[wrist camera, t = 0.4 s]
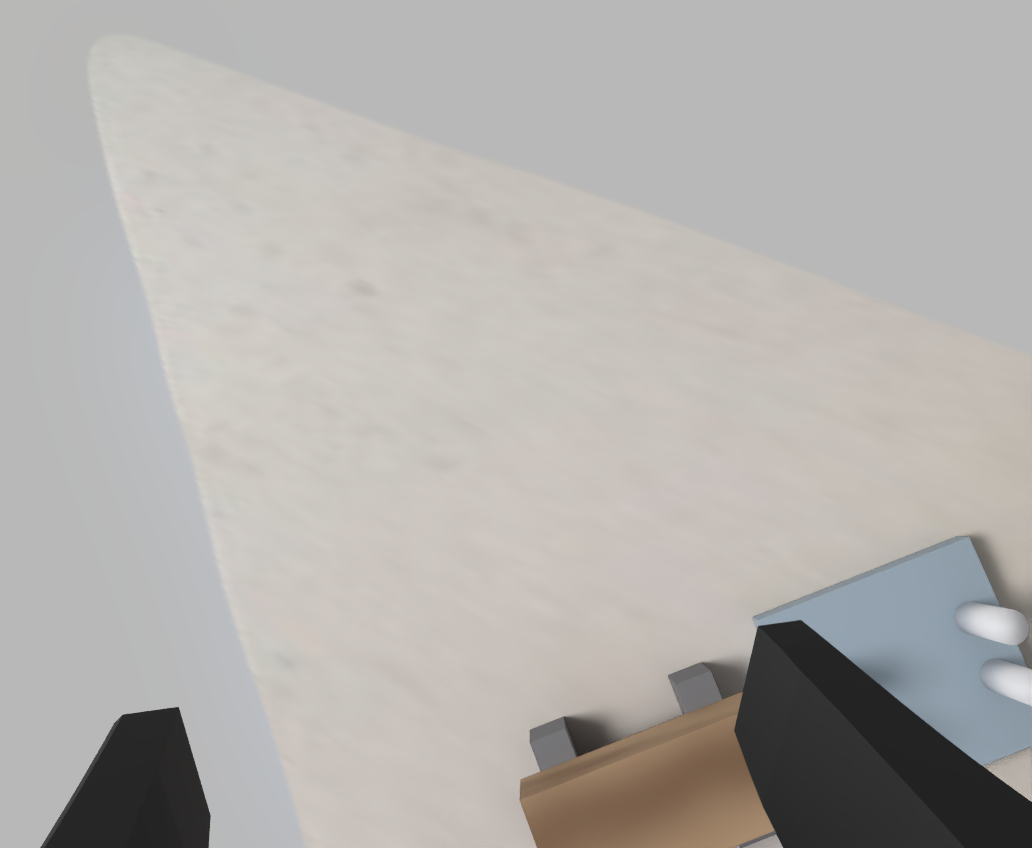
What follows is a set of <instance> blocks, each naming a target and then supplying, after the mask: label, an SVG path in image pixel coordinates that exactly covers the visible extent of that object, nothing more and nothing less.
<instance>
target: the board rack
mask: <svg viewBox="0 0 1032 848" xmlns="http://www.w3.org/2000/svg"><path fill="white" fill-rule="evenodd" d="M668 677H669V680H670V682H671V685H672V687H673V690H674V692H675V695H676V697H677V700H678V702H679V705H680V707H681V710H682V713H683V715H684V714H687V713H689V712H692V711H694V710H697V709H699V708H702V707H704V706H707V705H710V704H712V703H715V702H717V701H720V700H722V697H721V695H720V692H719V690H718V687H717V685H716V682H715V680H714V677H713V675H712V672H711V670H709V669H708V668H707V667H706V666H705V665H704V664H702V663H698V664H696V665H693V666H690V667H688V668H685V669H683V670H680V671H678V672H675V673H673V674H670V675H668ZM530 744H531V747H532V750H533V752H534V755H535V758H536V760H537V763H538V766H539V768H540V771H543V770H546V769H548V768H551V767H554V766H556V765H559V764H561V763H564V762H566V761H569V760H571V759H574V758H576V757H579V756H578V754H577V751H576V749H575V746H574V743H573V741H572V738H571V735H570V733H569V730H568V727H567V725H566V722H565V720H564V717H562V718H559V719H557V720H554V721H552V722H549V723H547V724H544V725H542V726H539V727H536V728H534V729H531V730H530ZM775 834H776V832H775V831H773V832H770V833H768V834H765V835H763V836H760V837H758V838H755V839H753V840H750V841H748V842H745V843H743V844H740V845H739V846H740V848H743V847H745V846H748V845H750V844H753V843H755V842H757V841H760V840H762V839H765V838H767V837H770V836H772V835H775Z"/></svg>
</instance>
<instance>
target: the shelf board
mask: <svg viewBox="0 0 1032 848" xmlns="http://www.w3.org/2000/svg"><path fill="white" fill-rule="evenodd" d="M742 693H743V692H740V693H737V694H735V695H732V696H730V697H727V698H725V699H722V700H720V701H717V702H715V703H712V704H710V705H707V706H704V707H702V708H699V709H697V710H694V711H692V712H689V713H687V714H684V715H682V716H679V717H677V718H674V719H672V720H669V721H667V722H664V723H662V724H659V725H657V726H654V727H652V728H649V729H647V730H644V731H642V732H639V733H637V734H634V735H631V736H629V737H626V738H624V739H621V740H619V741H616V742H614V743H611V744H609V745H606V746H604V747H601V748H599V749H596V750H594V751H591V752H589V753H586V754H584V755H581V756H579V757H576V758H574V759H571V760H569V761H566V762H564V763H561V764H559V765H556V766H554V767H551V768H548V769H546V770H543V771H541V772H538V773H536V774H533V775H531V776H528V777H526V778H523V779H521V782H520V802H521V805H522V808H523V811H524V813H525V816H526V819H527V821H528V824H529V827H530V830H531V832H532V835H533V838H534V840H535V843H536V846H537V848H733V847H735V846H738V845H740V844H743V843H745V842H748V841H750V840H753V839H755V838H758V837H760V836H763V835H765V834H768V833H770V832H773V831H775V830H774V828H773V826H772V824H771V822H770V820H769V818H768V816H767V814H766V812H765V810H764V808H763V806H762V803H761V801H760V798H759V796H758V793H757V791H756V788H755V786H754V783H753V780H752V778H751V775H750V773H749V770H748V767H747V765H746V762H745V759H744V756H743V754H742V751H741V748H740V745H739V743H738V740H737V737H736V734H735V732H734V728H735V724H736V720H737V715H738V711H739V707H740V702H741V698H742Z"/></svg>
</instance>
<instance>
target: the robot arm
mask: <svg viewBox="0 0 1032 848" xmlns="http://www.w3.org/2000/svg"><path fill="white" fill-rule="evenodd" d="M734 732H735V734H736V737H737V740H738V743H739V745H740V748H741V751H742V754H743V756H744V759H745V762H746V765H747V767H748V770H749V773H750V775H751V778H752V780H753V783H754V786H755V788H756V791H757V793H758V796H759V798H760V801H761V803H762V806H763V808H764V810H765V812H766V814H767V816H768V818H769V820H770V822H771V824H772V826H773V828H774V830H775V832H776V834H777V836H778V838H779V840H780V842H781V844H782V846H783V848H1032V802H1031V801H1029V800H1028V799H1027V798H1025V797H1024V796H1022V795H1021V794H1020V793H1018V792H1017V791H1015V790H1014V789H1013V788H1011V787H1010V786H1009V785H1007V784H1006V783H1004V782H1003V781H1002V780H1000V779H999V778H998V777H996V776H995V775H994V774H992V773H991V772H990V771H988V770H987V769H986V768H984V767H983V766H982V765H980V764H979V763H978V762H976V761H975V760H974V759H972V758H971V757H970V756H968V755H967V754H966V753H965V752H963V751H962V750H961V749H959V748H958V747H957V746H956V745H954V744H953V743H952V742H950V741H949V740H948V739H947V738H945V737H944V736H943V735H942V734H940V733H939V732H938V731H936V730H935V729H934V728H933V727H931V726H930V725H929V724H928V723H926V722H925V721H924V720H923V719H921V718H920V717H919V716H918V715H916V714H915V713H914V712H913V711H911V710H910V709H909V708H908V707H907V706H905V705H904V704H903V703H902V702H900V701H899V700H898V699H897V698H895V697H894V696H893V695H892V694H891V693H889V692H888V691H887V690H886V689H885V688H883V687H882V686H881V685H880V684H878V683H877V682H876V681H875V680H874V679H872V678H871V677H870V676H869V675H868V674H866V673H865V672H864V671H863V670H862V669H860V668H859V667H858V666H857V665H855V664H854V663H853V662H852V661H851V660H849V659H848V658H847V657H846V656H845V655H843V654H842V653H841V652H840V651H839V650H837V649H836V648H835V647H834V646H833V645H831V644H830V643H829V642H828V641H827V640H825V639H824V638H823V637H822V636H820V635H819V634H818V633H817V632H816V631H814V630H813V629H812V628H811V627H809V626H808V625H807V624H806V623H804V622H803V621H802V620H796V621H789V622H782V623H775V624H768V625H761V626H758V628H757V632H756V637H755V641H754V646H753V650H752V654H751V659H750V663H749V667H748V672H747V676H746V680H745V685H744V689H743V693H742V698H741V702H740V707H739V711H738V715H737V720H736V724H735V728H734ZM209 831H210V812H209V809H208V806H207V802H206V799H205V796H204V792H203V789H202V785H201V782H200V779H199V775H198V772H197V768H196V765H195V761H194V758H193V754H192V751H191V748H190V744H189V741H188V737H187V734H186V731H185V727H184V724H183V720H182V717H181V714H180V710H179V707H176V708H168V709H160V710H153V711H146V712H140V713H132V714H125V715H122V716H121V717H120V718H119V719H118V720H117V721H116V722H115V723H114V725H113V727H112V729H111V730H110V732H109V734H108V736H107V737H106V739H105V741H104V743H103V744H102V746H101V748H100V750H99V751H98V753H97V755H96V757H95V758H94V760H93V762H92V763H91V765H90V767H89V769H88V770H87V772H86V774H85V776H84V777H83V779H82V781H81V782H80V784H79V786H78V787H77V789H76V791H75V793H74V794H73V796H72V797H71V799H70V801H69V803H68V804H67V806H66V807H65V809H64V811H63V812H62V814H61V815H60V817H59V819H58V820H57V822H56V823H55V825H54V827H53V828H52V830H51V832H50V833H49V835H48V836H47V838H46V840H45V841H44V843H43V845H42V846H41V848H208V847H209Z"/></svg>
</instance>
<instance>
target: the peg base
mask: <svg viewBox="0 0 1032 848" xmlns="http://www.w3.org/2000/svg"><path fill="white" fill-rule="evenodd" d="M752 618H753V620H754V623H755V625H756V627H757V628H758V626H761V625H768V624H775V623H782V622H789V621H796V620H802V621H803V622H804V623H806V624H807V625H808V626H809V627H811V628H812V629H813V630H814V631H816V632H817V633H818V634H819V635H820V636H822V637H823V638H824V639H825V640H827V641H828V642H829V643H830V644H831V645H833V646H834V647H835V648H836V649H837V650H839V651H840V652H841V653H842V654H843V655H845V656H846V657H847V658H848V659H849V660H851V661H852V662H853V663H854V664H855V665H857V666H858V667H859V668H860V669H862V670H863V671H864V672H865V673H866V674H868V675H869V676H870V677H871V678H872V679H874V680H875V681H876V682H877V683H878V684H880V685H881V686H882V687H883V688H885V689H886V690H887V691H888V692H889V693H891V694H892V695H893V696H894V697H895V698H897V699H898V700H899V701H900V702H902V703H903V704H904V705H905V706H907V707H908V708H909V709H910V710H911V711H913V712H914V713H915V714H916V715H918V716H919V717H920V718H921V719H923V720H924V721H925V722H926V723H928V724H929V725H930V726H931V727H933V728H934V729H935V730H936V731H938V732H939V733H940V734H942V735H943V736H944V737H945V738H947V739H948V740H949V741H950V742H952V743H953V744H954V745H956V746H957V747H958V748H959V749H961V750H962V751H963V752H965V753H966V754H967V755H968V756H970V757H971V758H972V759H974V760H975V761H976V762H978V763H979V764H980V765H982V766H983V765H986V764H988V763H991V762H993V761H996V760H998V759H1001V758H1003V757H1006V756H1008V755H1011V754H1013V753H1016V752H1018V751H1020V750H1023V749H1025V748H1028V747H1030V746H1032V669H1030V668H1028V667H1027V665H1026V662H1025V660H1024V658H1023V656H1022V653H1021V651H1020V649H1019V647H1018V644H1020V643H1022V642H1023V641H1024V640H1025V639H1026V638H1027V636H1028V633H1029V624H1028V621H1027V619H1026V618H1025V616H1024V615H1023V614H1022V613H1020V612H1019V611H1016V610H1013V609H1007V608H1002V607H1000V604H999V602H998V600H997V598H996V596H995V593H994V591H993V589H992V587H991V584H990V582H989V580H988V578H987V576H986V573H985V571H984V569H983V567H982V564H981V562H980V560H979V558H978V556H977V553H976V551H975V549H974V547H973V544H972V542H971V540H970V538H969V537H962V536H957V537H954V538H952V539H949V540H946V541H944V542H941V543H939V544H936V545H934V546H931V547H929V548H926V549H924V550H921V551H919V552H916V553H914V554H911V555H909V556H906V557H903V558H901V559H898V560H896V561H893V562H891V563H888V564H886V565H883V566H881V567H878V568H876V569H873V570H871V571H868V572H866V573H863V574H860V575H858V576H855V577H853V578H850V579H848V580H845V581H843V582H840V583H838V584H835V585H833V586H830V587H828V588H825V589H823V590H820V591H817V592H815V593H812V594H810V595H807V596H805V597H802V598H800V599H797V600H795V601H792V602H790V603H787V604H785V605H782V606H780V607H777V608H774V609H772V610H769V611H767V612H764V613H762V614H759V615H757V616H754V617H752Z"/></svg>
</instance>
